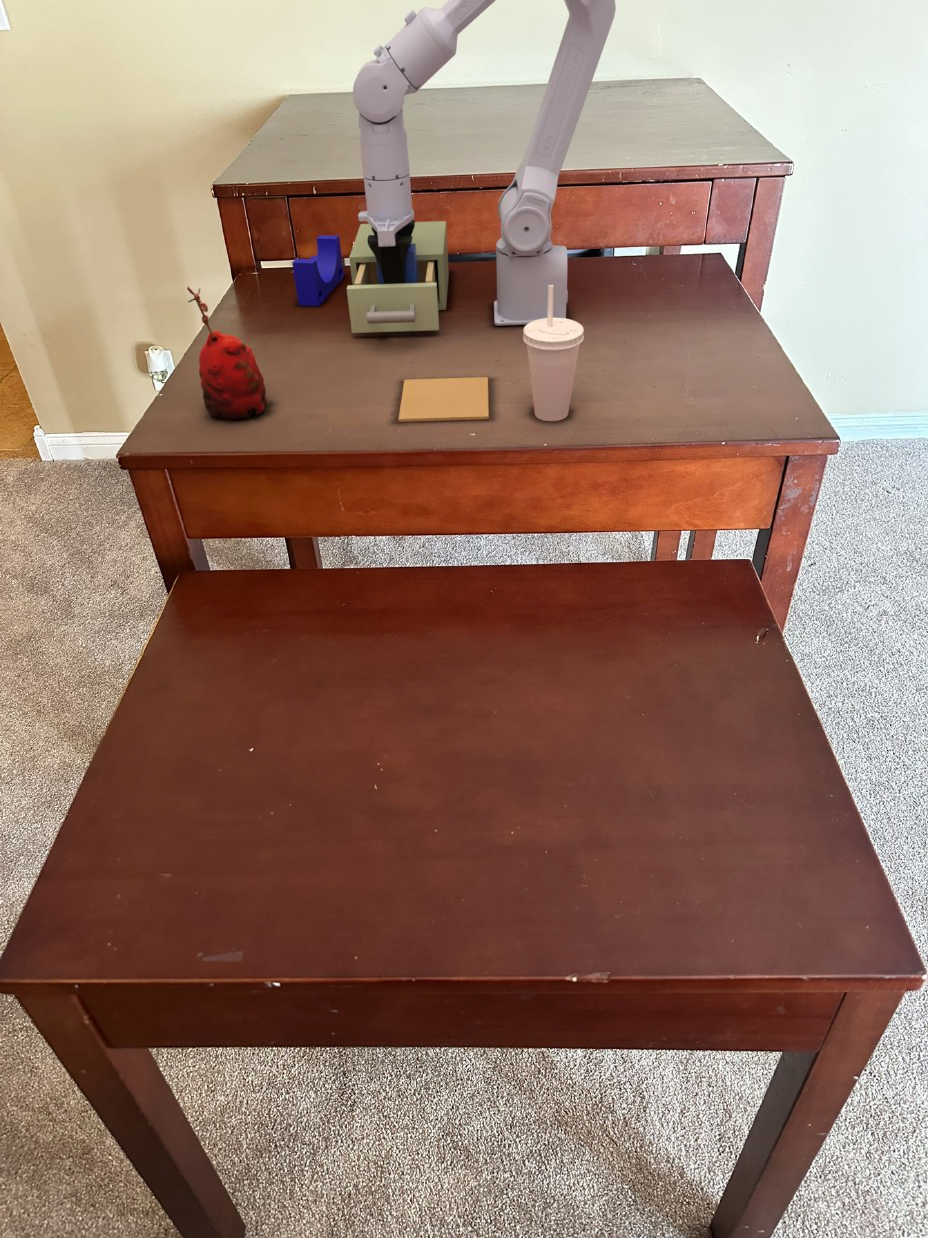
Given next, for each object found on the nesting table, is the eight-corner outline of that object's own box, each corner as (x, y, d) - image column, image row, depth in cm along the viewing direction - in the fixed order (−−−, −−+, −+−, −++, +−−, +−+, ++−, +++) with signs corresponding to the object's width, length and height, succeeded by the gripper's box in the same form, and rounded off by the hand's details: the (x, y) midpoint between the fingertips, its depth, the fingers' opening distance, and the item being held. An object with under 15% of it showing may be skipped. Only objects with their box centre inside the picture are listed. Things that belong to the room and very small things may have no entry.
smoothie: (552, 394, 103) (556, 271, 94) (592, 414, 99) (599, 287, 90) (510, 412, 100) (510, 287, 91) (549, 432, 96) (553, 303, 87)
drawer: (437, 342, 114) (435, 297, 110) (348, 345, 114) (342, 300, 110) (442, 292, 127) (439, 250, 123) (362, 295, 127) (357, 253, 124)
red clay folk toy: (281, 410, 103) (256, 278, 93) (228, 431, 99) (197, 296, 90) (245, 390, 107) (218, 262, 98) (193, 410, 104) (160, 279, 94)
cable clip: (316, 275, 137) (310, 234, 133) (344, 276, 136) (339, 235, 132) (289, 304, 128) (281, 262, 124) (318, 306, 127) (312, 262, 123)
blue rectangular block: (419, 292, 121) (415, 242, 117) (418, 301, 119) (413, 251, 115) (383, 294, 122) (377, 245, 117) (381, 303, 119) (375, 253, 115)
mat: (488, 379, 107) (488, 376, 107) (488, 419, 99) (488, 416, 99) (404, 382, 107) (404, 379, 107) (398, 421, 99) (398, 418, 99)
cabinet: (445, 309, 124) (442, 253, 120) (355, 312, 125) (349, 256, 120) (448, 273, 136) (446, 220, 131) (366, 276, 136) (360, 223, 131)
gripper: (360, 161, 116) (371, 267, 125) (347, 192, 105) (361, 306, 114) (414, 158, 116) (422, 265, 125) (407, 189, 105) (416, 304, 113)
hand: (396, 285), depth 119 cm, fingers closed on blue rectangular block, 3 cm apart
